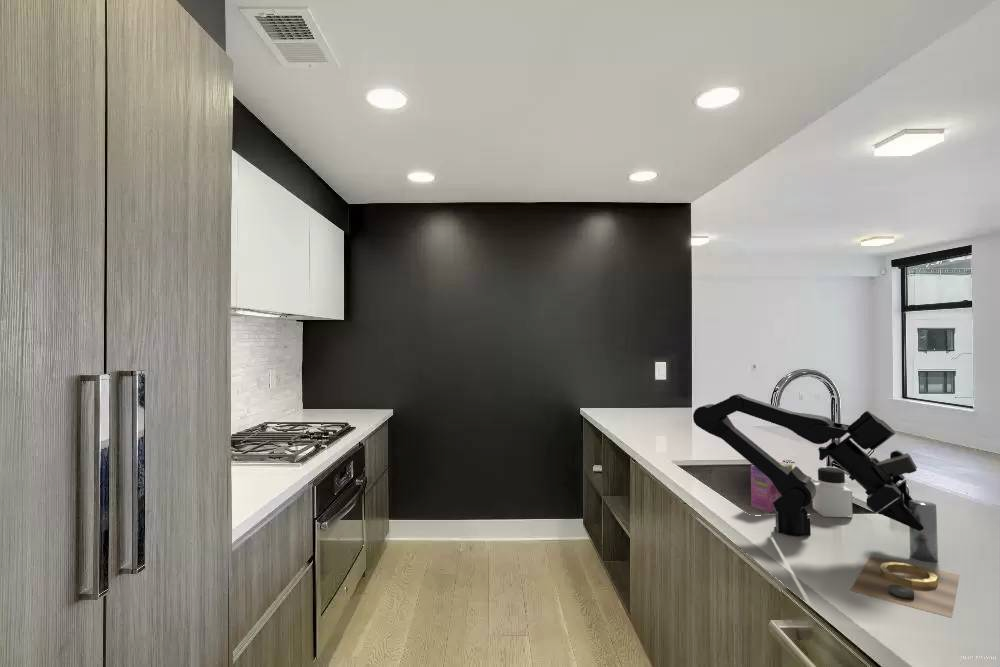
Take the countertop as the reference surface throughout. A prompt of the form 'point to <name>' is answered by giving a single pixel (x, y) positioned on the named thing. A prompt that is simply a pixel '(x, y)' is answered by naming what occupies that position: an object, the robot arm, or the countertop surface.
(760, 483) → the box
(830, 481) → the medicine bottle
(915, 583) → the brass ring
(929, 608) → the board
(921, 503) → the steel peg
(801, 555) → the countertop surface
